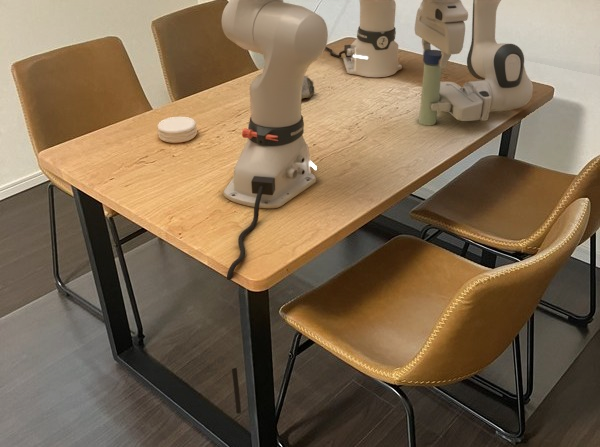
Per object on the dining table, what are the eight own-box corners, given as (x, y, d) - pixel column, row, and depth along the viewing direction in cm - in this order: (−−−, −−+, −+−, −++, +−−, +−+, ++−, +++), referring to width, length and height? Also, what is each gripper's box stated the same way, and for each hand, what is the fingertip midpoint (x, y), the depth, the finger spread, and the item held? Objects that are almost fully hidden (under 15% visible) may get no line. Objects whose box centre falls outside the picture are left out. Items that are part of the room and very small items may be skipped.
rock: (319, 95, 186) (318, 72, 182) (294, 104, 180) (293, 80, 176) (285, 84, 195) (284, 62, 192) (261, 93, 189) (259, 70, 186)
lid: (435, 66, 157) (436, 57, 155) (418, 61, 160) (419, 52, 159) (448, 61, 160) (449, 52, 158) (431, 57, 163) (432, 48, 162)
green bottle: (426, 117, 172) (433, 51, 162) (439, 122, 168) (447, 55, 159) (415, 121, 169) (421, 55, 159) (428, 126, 166) (435, 59, 156)
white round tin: (160, 128, 167) (158, 116, 165) (197, 126, 168) (196, 114, 166) (157, 144, 158) (155, 132, 157) (196, 142, 159) (195, 129, 157)
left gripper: (411, -2, 160) (406, 51, 167) (447, 17, 143) (441, 75, 151) (433, -4, 161) (428, 49, 169) (472, 15, 145) (464, 72, 152)
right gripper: (458, 74, 175) (412, 78, 172) (493, 99, 158) (443, 105, 156) (455, 95, 178) (410, 100, 176) (490, 122, 162) (440, 128, 159)
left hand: (434, 61), depth 160 cm, fingers open, 8 cm apart
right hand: (426, 102), depth 166 cm, fingers closed on green bottle, 4 cm apart
